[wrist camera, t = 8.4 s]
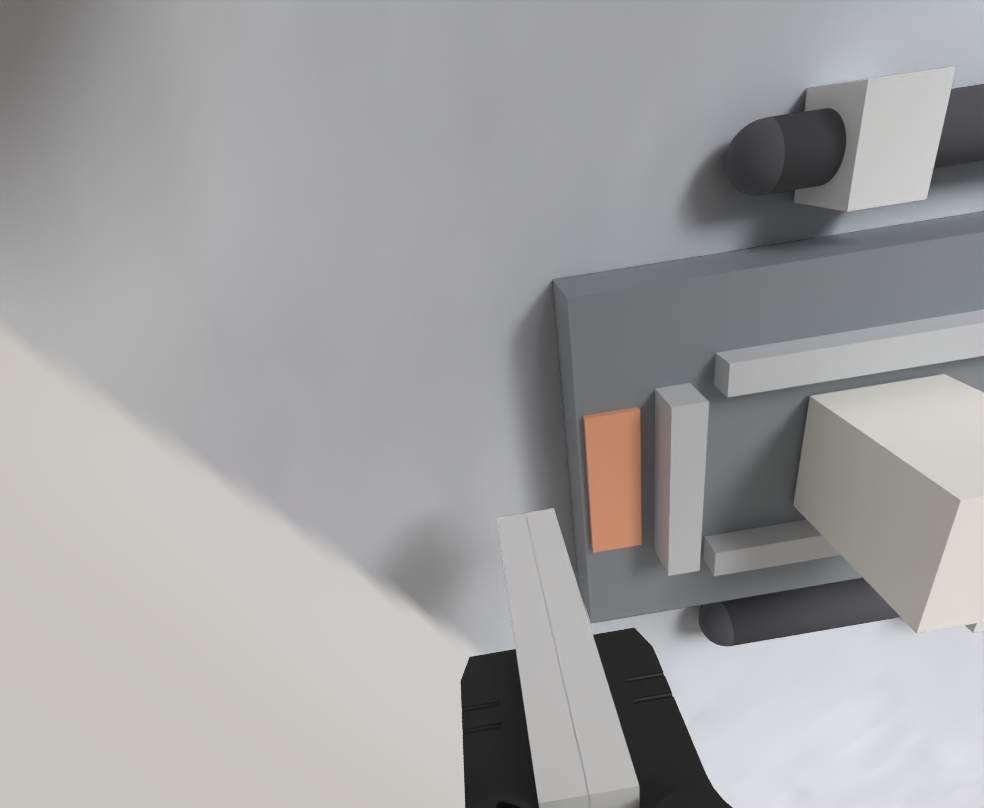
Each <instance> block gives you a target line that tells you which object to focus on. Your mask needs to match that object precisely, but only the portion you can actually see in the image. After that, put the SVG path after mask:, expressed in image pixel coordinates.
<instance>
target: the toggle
mask: <svg viewBox="0 0 984 808" xmlns="http://www.w3.org/2000/svg"><path fill="white" fill-rule="evenodd" d="M793 506H794V507H795V508H796V509H797V510H798V511H799V512H800V513H801V514H802V515H803V516H804V517H805V518H806V519H807V520H808V521H809V522H810V523H811V524H812V525H813V526H814V528H815V529H816V530H817V531H818V532H819V533H820V534H821V535H822V536H823V537H824V538H825V539H826V540H827V541H828V542H829V543H830V544H831V545H832V546H833V547H834V548H835V549H836V550H837V551H838V552H839V553H840V554H841V555H842V557H843V558H844V559H845V560H846V561H847V562H848V563H849V564H850V565H851V566H852V567H853V568H854V569H855V570H856V571H857V572H858V573H859V574H860V575H861V576H862V577H863V578H864V579H865V580H866V581H867V582H868V583H869V584H870V585H871V587H872V588H873V589H874V590H875V591H876V592H877V593H878V594H879V595H880V596H881V597H882V598H883V599H884V600H885V601H886V602H887V603H888V604H889V605H890V606H891V607H892V608H893V609H894V610H895V611H896V612H897V613H898V614H899V616H900V617H901V618H902V619H903V620H904V621H905V622H906V623H907V624H908V625H909V626H910V627H911V628H912V629H913V630H914V631H915V632H916V633H922V632H928V631H933V630H939V629H945V628H951V627H957V626H963V625H969V624H974V623H980V622H984V392H982V391H980V390H977V389H975V388H973V387H971V386H969V385H967V384H965V383H962V382H960V381H958V380H956V379H954V378H952V377H949V376H947V375H945V374H941V375H935V376H929V377H923V378H916V379H910V380H904V381H898V382H892V383H886V384H880V385H874V386H867V387H861V388H855V389H849V390H843V391H837V392H831V393H824V394H818V395H812V396H810V399H809V405H808V412H807V418H806V425H805V431H804V438H803V444H802V451H801V457H800V464H799V470H798V477H797V483H796V490H795V496H794V503H793Z"/></svg>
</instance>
